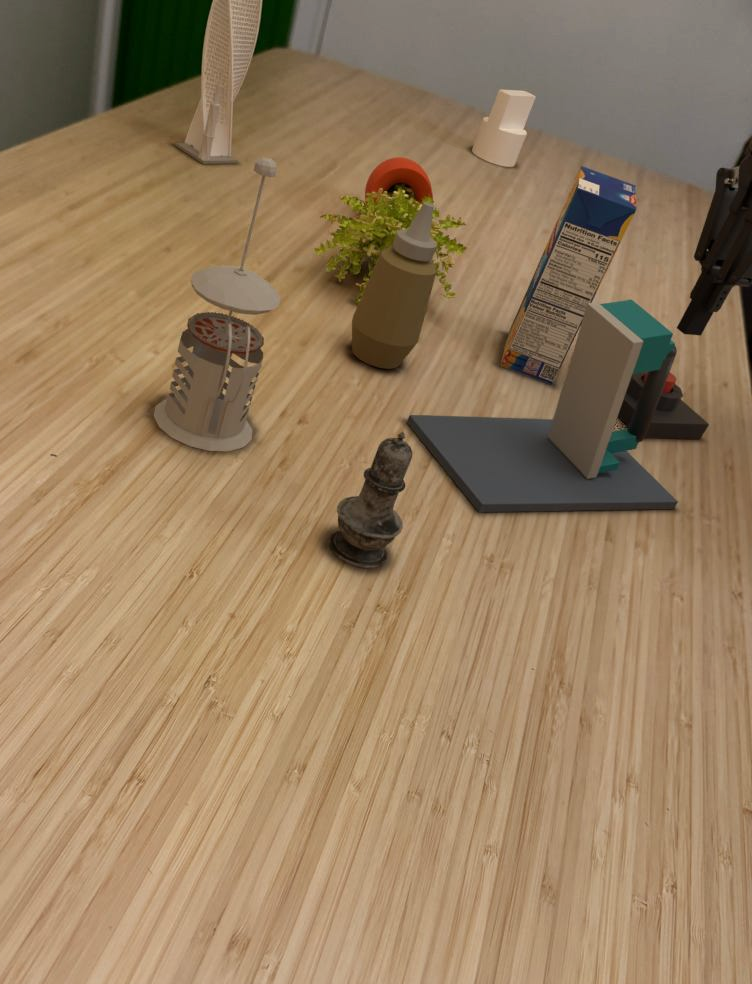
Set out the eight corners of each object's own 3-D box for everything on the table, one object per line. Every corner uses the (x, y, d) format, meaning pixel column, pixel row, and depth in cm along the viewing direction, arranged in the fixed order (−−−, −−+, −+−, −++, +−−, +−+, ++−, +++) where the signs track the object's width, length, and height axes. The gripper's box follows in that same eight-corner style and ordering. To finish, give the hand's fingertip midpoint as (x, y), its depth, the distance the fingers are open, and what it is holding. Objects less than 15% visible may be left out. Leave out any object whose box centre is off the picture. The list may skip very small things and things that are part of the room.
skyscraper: (168, 141, 161) (207, -69, 143) (208, 141, 166) (249, -61, 148) (202, 163, 157) (246, -49, 140) (241, 163, 162) (288, -42, 145)
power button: (675, 395, 127) (682, 382, 126) (653, 394, 126) (660, 381, 125) (657, 379, 129) (664, 367, 128) (636, 378, 128) (643, 365, 127)
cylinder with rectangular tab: (489, 148, 210) (513, 84, 203) (523, 166, 206) (548, 102, 199) (463, 148, 205) (486, 83, 197) (497, 167, 201) (522, 101, 193)
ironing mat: (674, 509, 112) (678, 501, 112) (478, 512, 101) (482, 504, 100) (592, 427, 123) (595, 420, 122) (406, 422, 111) (409, 414, 111)
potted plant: (306, 226, 165) (301, 299, 127) (330, 130, 158) (332, 178, 120) (422, 257, 167) (451, 338, 129) (450, 164, 160) (490, 221, 122)
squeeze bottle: (381, 380, 117) (437, 224, 106) (328, 347, 120) (377, 191, 109) (421, 368, 123) (478, 217, 111) (370, 335, 126) (420, 186, 114)
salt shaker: (331, 521, 93) (372, 404, 86) (393, 542, 93) (440, 427, 86) (320, 556, 89) (363, 436, 81) (385, 578, 89) (434, 461, 81)
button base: (700, 439, 128) (717, 411, 126) (639, 438, 124) (656, 408, 121) (643, 388, 136) (658, 360, 133) (584, 385, 132) (598, 356, 129)
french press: (245, 403, 105) (313, 150, 89) (263, 468, 97) (342, 201, 81) (149, 389, 102) (202, 125, 86) (159, 455, 94) (220, 175, 78)
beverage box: (500, 366, 129) (578, 188, 115) (507, 334, 138) (581, 165, 124) (551, 385, 129) (636, 209, 115) (556, 352, 137) (635, 185, 123)
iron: (633, 342, 98) (714, 329, 101) (587, 302, 104) (665, 291, 106) (587, 479, 110) (661, 464, 113) (547, 437, 115) (619, 423, 118)
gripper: (735, 95, 110) (632, 304, 125) (821, 139, 102) (700, 357, 117) (784, 106, 114) (678, 308, 128) (871, 149, 105) (747, 360, 120)
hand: (688, 331), depth 123 cm, fingers closed
